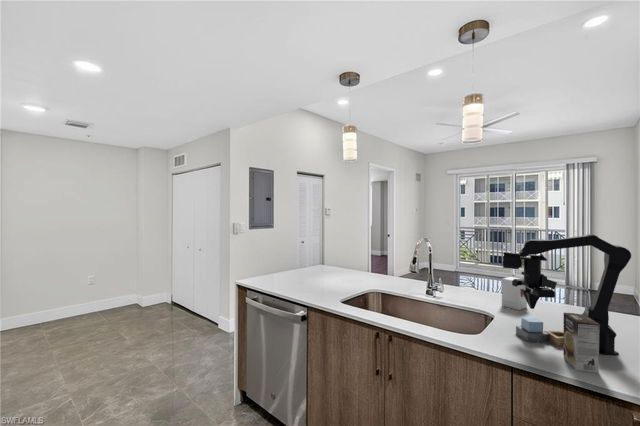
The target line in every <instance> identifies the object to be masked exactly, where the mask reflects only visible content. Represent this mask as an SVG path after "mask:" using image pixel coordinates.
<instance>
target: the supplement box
mask: <svg viewBox="0 0 640 426" xmlns="http://www.w3.org/2000/svg"><path fill="white" fill-rule="evenodd" d="M514 279H521V278H520V277H514V276H508V277H504V278H502V279H501V307H502V306H503V307H505V308H510V309H513V310H517V311H520V310H523V309H526V308H528V303H527V301H526V299H525V297H524V295H523V294H522V292H521V291H520V289H522V286H521V285H518V286H517V287H515V286H513V285H512V281H513V280H514Z"/></svg>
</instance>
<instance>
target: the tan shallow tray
mask: <svg viewBox="0 0 640 426" xmlns="http://www.w3.org/2000/svg"><path fill="white" fill-rule="evenodd" d="M543 331H544V332H546V333H548V334H549V343H550V344H552V345H553V346H555V347H558V348H559V347H560V348H564V345H563V344H564V343H563V342H564V330H543Z"/></svg>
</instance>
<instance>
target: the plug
mask: <svg viewBox="0 0 640 426" xmlns="http://www.w3.org/2000/svg"><path fill="white" fill-rule="evenodd" d="M520 324H521V325H520V326H521V327H522V328H524V329H525V330H527V331H528V332H543V331H544V322H543V321H542V320H540V319H539V318H537V317H525V316H524V317H521V323H520Z"/></svg>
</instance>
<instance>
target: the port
mask: <svg viewBox="0 0 640 426" xmlns="http://www.w3.org/2000/svg"><path fill="white" fill-rule="evenodd" d="M544 331H545V330H543V332H528V331H527V330H525V329H524V328H522V327H521V325H516V326H515V335H517V336H519V337H520V338H522V340H524V341H526V342H527V343H550V342H549V334H548V333H546V332H544Z"/></svg>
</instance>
